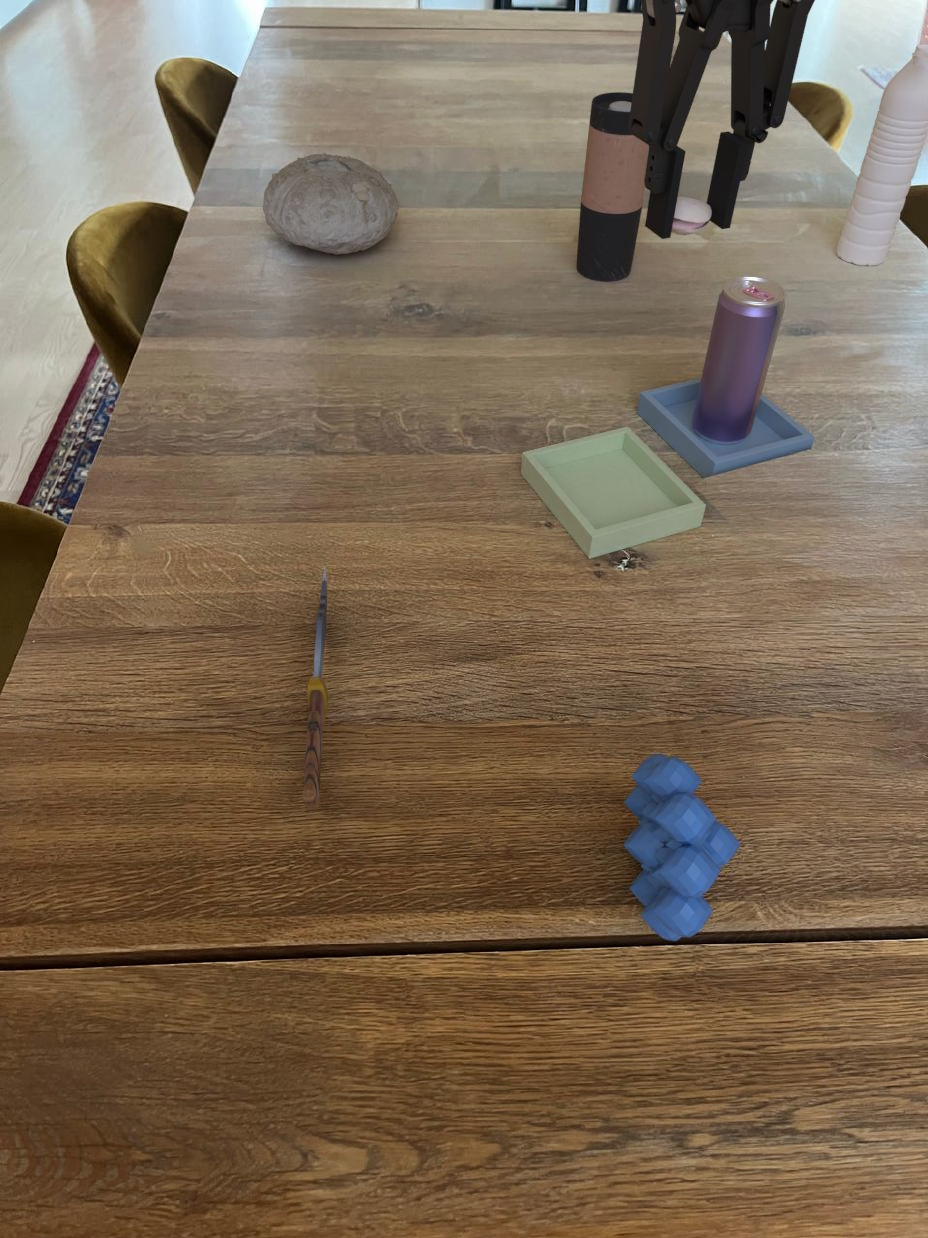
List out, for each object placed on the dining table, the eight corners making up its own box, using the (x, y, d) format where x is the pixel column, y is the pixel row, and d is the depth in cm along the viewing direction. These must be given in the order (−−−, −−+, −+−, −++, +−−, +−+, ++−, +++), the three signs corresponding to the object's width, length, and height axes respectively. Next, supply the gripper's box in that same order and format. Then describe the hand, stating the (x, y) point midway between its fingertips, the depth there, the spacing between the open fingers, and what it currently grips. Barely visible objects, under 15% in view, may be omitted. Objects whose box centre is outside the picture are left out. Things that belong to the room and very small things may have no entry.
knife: (319, 586, 79) (313, 541, 75) (336, 586, 79) (331, 540, 76) (304, 843, 62) (296, 799, 58) (326, 841, 62) (318, 798, 58)
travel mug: (563, 263, 124) (578, 96, 110) (611, 252, 127) (632, 88, 113) (594, 287, 119) (615, 115, 105) (644, 275, 122) (670, 106, 108)
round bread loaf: (422, 230, 131) (421, 154, 124) (359, 281, 119) (354, 201, 112) (311, 207, 136) (304, 132, 129) (241, 254, 124) (229, 175, 117)
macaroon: (645, 227, 77) (650, 195, 75) (686, 212, 79) (692, 181, 77) (685, 245, 74) (691, 213, 73) (726, 230, 77) (733, 198, 75)
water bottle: (837, 242, 130) (898, 35, 112) (886, 250, 128) (956, 41, 111) (832, 268, 124) (896, 54, 106) (884, 276, 123) (957, 60, 105)
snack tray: (700, 526, 85) (706, 504, 84) (589, 559, 82) (592, 537, 80) (624, 447, 94) (627, 425, 92) (520, 473, 91) (522, 451, 89)
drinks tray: (808, 457, 93) (815, 436, 92) (710, 484, 90) (715, 463, 88) (728, 390, 102) (733, 369, 100) (636, 412, 99) (639, 391, 97)
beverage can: (721, 453, 93) (757, 311, 82) (678, 426, 96) (707, 285, 86) (762, 434, 95) (802, 293, 85) (718, 408, 99) (752, 269, 88)
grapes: (741, 986, 55) (795, 881, 47) (626, 987, 55) (660, 883, 47) (701, 816, 63) (740, 701, 55) (601, 817, 63) (626, 702, 55)
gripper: (665, -128, 55) (612, 262, 71) (908, -136, 60) (806, 229, 76) (603, -144, 60) (567, 224, 76) (833, -151, 65) (752, 195, 81)
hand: (687, 226), depth 76 cm, fingers closed on macaroon, 5 cm apart
